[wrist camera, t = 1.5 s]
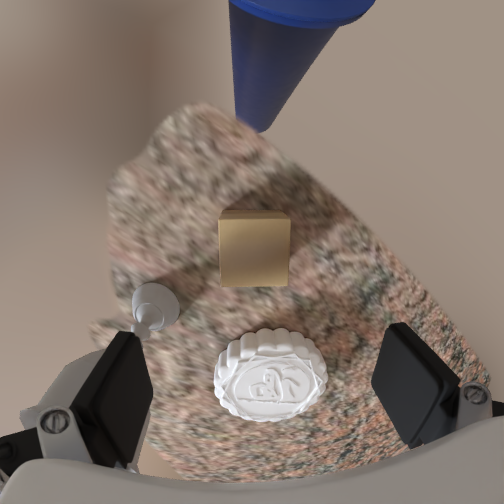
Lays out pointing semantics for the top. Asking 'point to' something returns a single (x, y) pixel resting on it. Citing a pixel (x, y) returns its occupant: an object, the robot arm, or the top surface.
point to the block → (254, 248)
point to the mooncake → (270, 375)
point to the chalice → (75, 373)
